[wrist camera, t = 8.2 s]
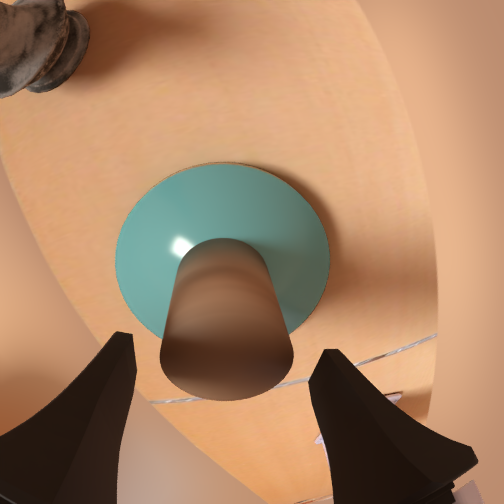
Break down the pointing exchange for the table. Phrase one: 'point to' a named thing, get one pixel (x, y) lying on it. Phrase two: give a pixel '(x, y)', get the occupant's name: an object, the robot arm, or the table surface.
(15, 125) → the table surface
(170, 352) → the walnut cylinder
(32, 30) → the salt shaker
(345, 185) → the table surface
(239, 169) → the teal rounded disc
